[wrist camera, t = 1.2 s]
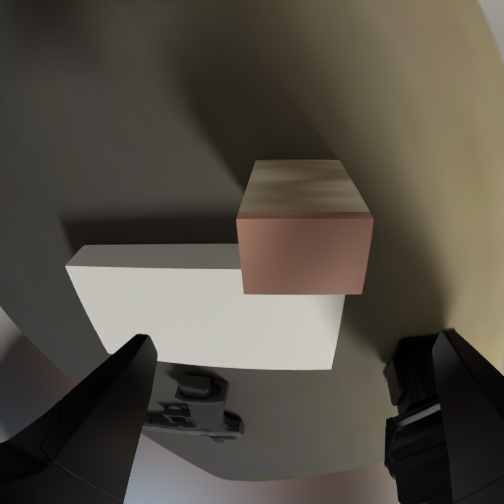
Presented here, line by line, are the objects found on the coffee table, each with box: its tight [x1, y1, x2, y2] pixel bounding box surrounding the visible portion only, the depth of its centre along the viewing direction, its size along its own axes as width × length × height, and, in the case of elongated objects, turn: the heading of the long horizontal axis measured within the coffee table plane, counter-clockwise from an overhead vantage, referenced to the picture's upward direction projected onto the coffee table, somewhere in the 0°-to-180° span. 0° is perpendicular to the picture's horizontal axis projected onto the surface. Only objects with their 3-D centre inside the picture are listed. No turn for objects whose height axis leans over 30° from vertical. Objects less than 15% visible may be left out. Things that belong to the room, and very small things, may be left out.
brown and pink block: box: [236, 160, 374, 295], centre depth 15 cm, size 5×4×8 cm
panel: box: [65, 244, 345, 370], centre depth 23 cm, size 20×10×3 cm, turn 94°
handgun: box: [142, 375, 245, 443], centre depth 35 cm, size 3×21×15 cm
